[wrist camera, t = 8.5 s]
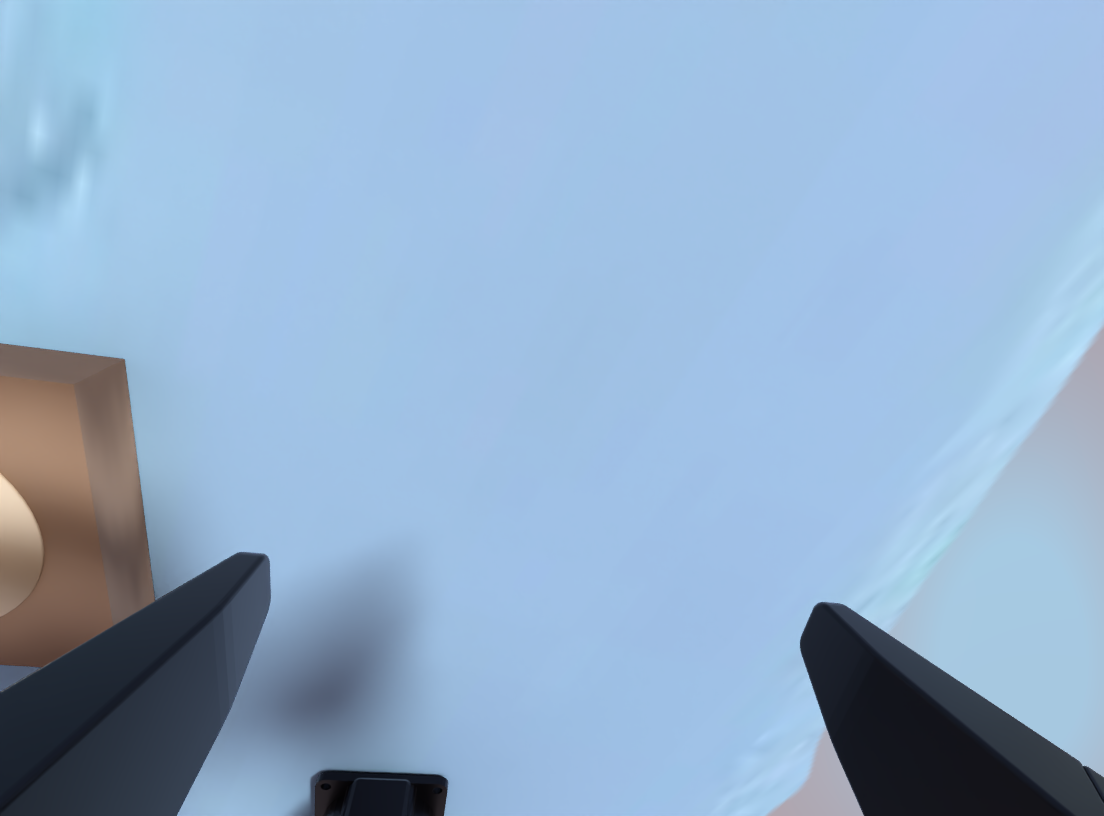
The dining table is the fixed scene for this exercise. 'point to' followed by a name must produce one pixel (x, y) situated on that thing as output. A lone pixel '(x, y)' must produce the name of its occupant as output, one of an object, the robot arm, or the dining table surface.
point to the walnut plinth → (67, 503)
